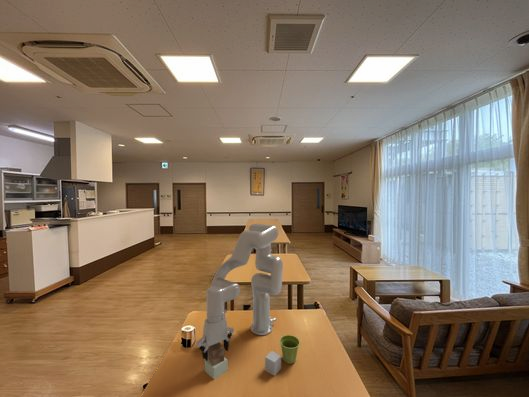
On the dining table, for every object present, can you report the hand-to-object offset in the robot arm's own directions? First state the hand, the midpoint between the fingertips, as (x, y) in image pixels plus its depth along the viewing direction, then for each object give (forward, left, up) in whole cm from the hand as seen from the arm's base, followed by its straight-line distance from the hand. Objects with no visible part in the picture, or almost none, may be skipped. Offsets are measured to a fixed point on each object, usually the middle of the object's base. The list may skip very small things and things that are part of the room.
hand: (216, 354), depth 101 cm
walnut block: (0, 0, -3) cm, 3 cm away
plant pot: (-30, +15, -7) cm, 34 cm away
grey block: (-20, +15, -7) cm, 26 cm away
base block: (0, 0, -8) cm, 8 cm away
